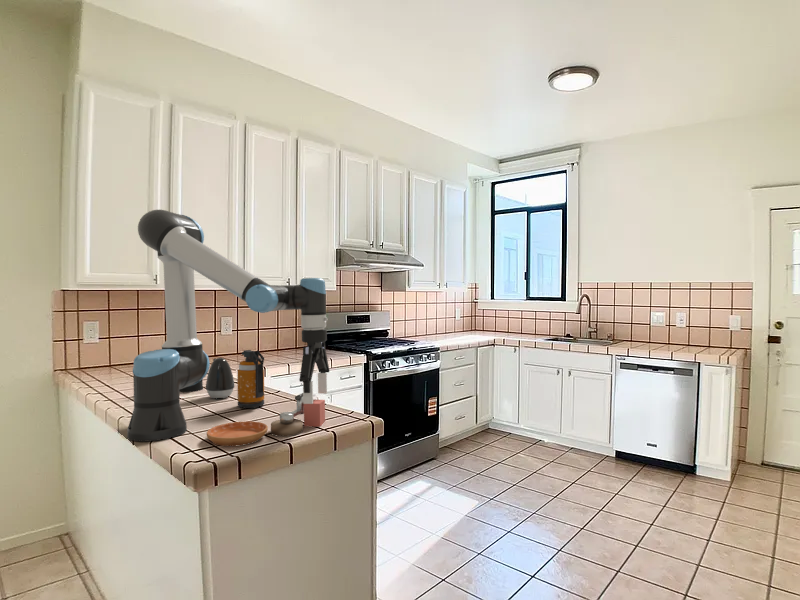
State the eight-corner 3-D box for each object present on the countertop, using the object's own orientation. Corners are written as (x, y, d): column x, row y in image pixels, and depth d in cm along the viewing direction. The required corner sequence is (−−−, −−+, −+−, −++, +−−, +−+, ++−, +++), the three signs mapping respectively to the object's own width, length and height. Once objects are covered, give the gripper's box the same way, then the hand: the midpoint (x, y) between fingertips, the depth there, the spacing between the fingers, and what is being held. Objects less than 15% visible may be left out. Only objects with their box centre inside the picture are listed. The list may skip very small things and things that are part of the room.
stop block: (304, 426, 143) (303, 403, 142) (309, 421, 148) (309, 399, 147) (320, 426, 142) (319, 403, 142) (325, 422, 147) (324, 399, 147)
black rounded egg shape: (227, 393, 188) (226, 355, 188) (239, 397, 181) (238, 357, 180) (201, 397, 181) (200, 357, 181) (212, 401, 174) (212, 360, 173)
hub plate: (265, 435, 133) (265, 426, 133) (278, 426, 142) (278, 417, 142) (296, 437, 132) (296, 427, 132) (307, 427, 141) (307, 418, 141)
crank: (289, 424, 135) (289, 402, 134) (277, 423, 136) (276, 401, 136) (309, 413, 146) (309, 393, 146) (297, 412, 147) (297, 392, 147)
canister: (254, 402, 173) (254, 347, 173) (273, 406, 166) (272, 349, 166) (232, 406, 166) (232, 350, 166) (250, 411, 159) (250, 352, 159)
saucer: (197, 439, 131) (197, 428, 131) (251, 427, 142) (251, 417, 142) (221, 453, 120) (221, 441, 119) (278, 439, 130) (278, 429, 130)
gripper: (312, 332, 131) (314, 408, 132) (337, 325, 156) (338, 389, 156) (286, 332, 132) (288, 408, 133) (315, 325, 157) (317, 389, 157)
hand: (315, 398), depth 144 cm, fingers open, 13 cm apart
